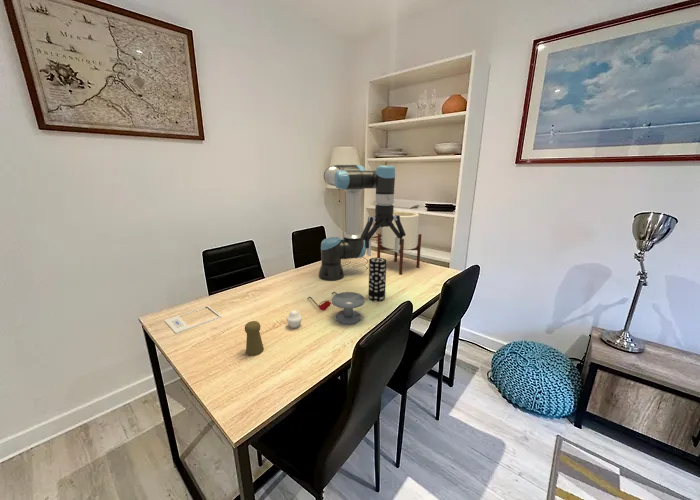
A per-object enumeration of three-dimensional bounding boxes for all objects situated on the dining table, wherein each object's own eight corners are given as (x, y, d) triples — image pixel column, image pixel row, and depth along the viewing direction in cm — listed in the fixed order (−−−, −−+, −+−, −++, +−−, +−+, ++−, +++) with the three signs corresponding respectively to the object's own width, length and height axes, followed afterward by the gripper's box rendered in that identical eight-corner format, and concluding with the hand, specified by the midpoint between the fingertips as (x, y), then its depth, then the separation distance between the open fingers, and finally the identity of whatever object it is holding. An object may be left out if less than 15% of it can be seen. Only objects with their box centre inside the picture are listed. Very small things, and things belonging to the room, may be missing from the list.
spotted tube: (384, 302, 138) (385, 263, 132) (367, 300, 139) (368, 262, 134) (385, 295, 146) (387, 258, 140) (369, 293, 147) (370, 257, 142)
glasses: (319, 313, 128) (318, 303, 127) (307, 299, 142) (306, 290, 141) (346, 306, 134) (346, 297, 133) (332, 293, 148) (332, 284, 147)
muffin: (289, 321, 120) (288, 306, 118) (304, 322, 120) (303, 307, 118) (285, 329, 114) (284, 313, 112) (300, 330, 114) (299, 314, 112)
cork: (248, 346, 103) (245, 319, 101) (265, 345, 104) (262, 318, 101) (243, 356, 98) (240, 328, 95) (261, 355, 98) (259, 327, 95)
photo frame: (164, 319, 121) (208, 305, 133) (164, 321, 121) (208, 307, 134) (175, 332, 111) (221, 315, 124) (176, 334, 111) (221, 318, 124)
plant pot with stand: (374, 267, 188) (375, 213, 179) (395, 260, 203) (397, 210, 193) (401, 276, 172) (404, 217, 163) (422, 267, 187) (426, 213, 177)
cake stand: (328, 313, 128) (328, 294, 125) (357, 308, 132) (357, 290, 130) (337, 328, 115) (337, 308, 112) (369, 322, 119) (369, 303, 117)
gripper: (360, 206, 110) (359, 259, 115) (415, 204, 118) (412, 253, 124) (353, 204, 116) (352, 254, 122) (405, 202, 125) (403, 248, 131)
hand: (382, 253), depth 123 cm, fingers open, 13 cm apart
